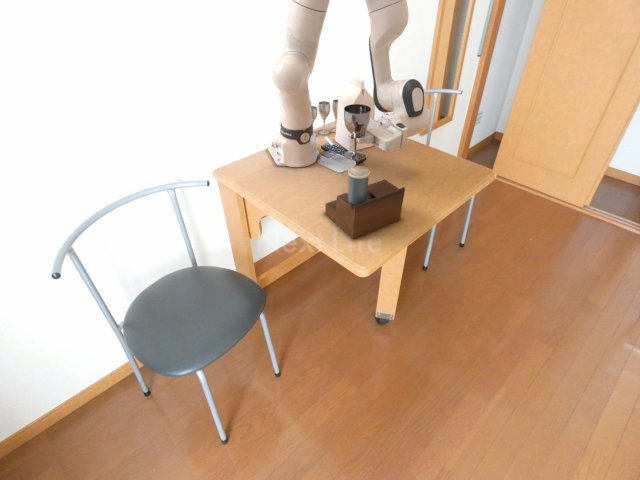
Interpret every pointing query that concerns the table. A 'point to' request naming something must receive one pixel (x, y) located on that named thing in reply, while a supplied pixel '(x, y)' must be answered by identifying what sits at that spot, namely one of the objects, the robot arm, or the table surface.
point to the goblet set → (325, 113)
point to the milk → (351, 96)
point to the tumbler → (357, 184)
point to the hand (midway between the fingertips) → (353, 138)
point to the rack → (367, 209)
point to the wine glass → (356, 126)
